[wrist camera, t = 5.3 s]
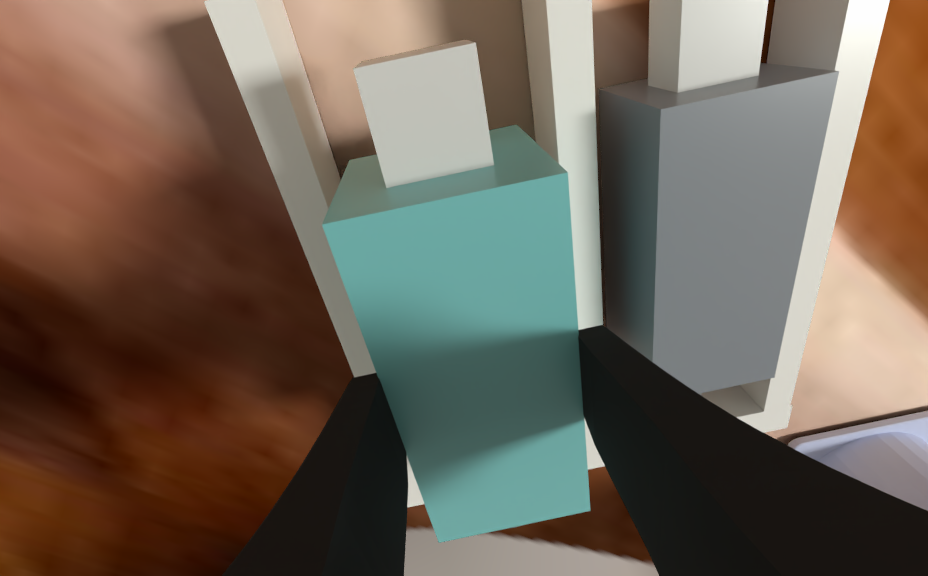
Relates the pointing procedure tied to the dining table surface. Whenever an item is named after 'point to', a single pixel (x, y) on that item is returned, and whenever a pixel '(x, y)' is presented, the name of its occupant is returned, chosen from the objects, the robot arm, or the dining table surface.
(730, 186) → the grey plug
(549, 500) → the teal plug
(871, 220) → the dining table surface
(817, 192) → the cable comb
